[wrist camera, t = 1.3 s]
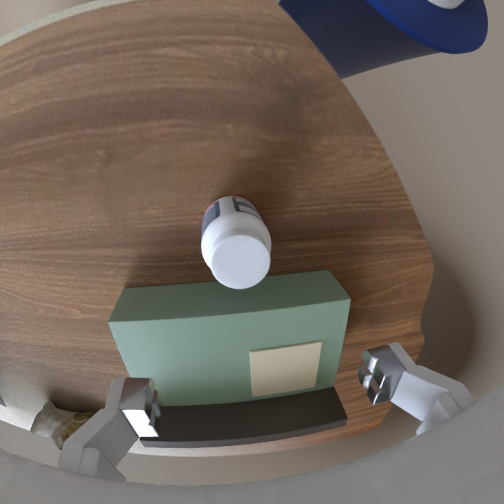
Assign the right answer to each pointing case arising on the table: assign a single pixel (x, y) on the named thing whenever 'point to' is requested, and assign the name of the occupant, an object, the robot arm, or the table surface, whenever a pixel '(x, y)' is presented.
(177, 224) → the table surface
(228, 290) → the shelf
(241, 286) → the pill bottle
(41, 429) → the ceramic sculpture
